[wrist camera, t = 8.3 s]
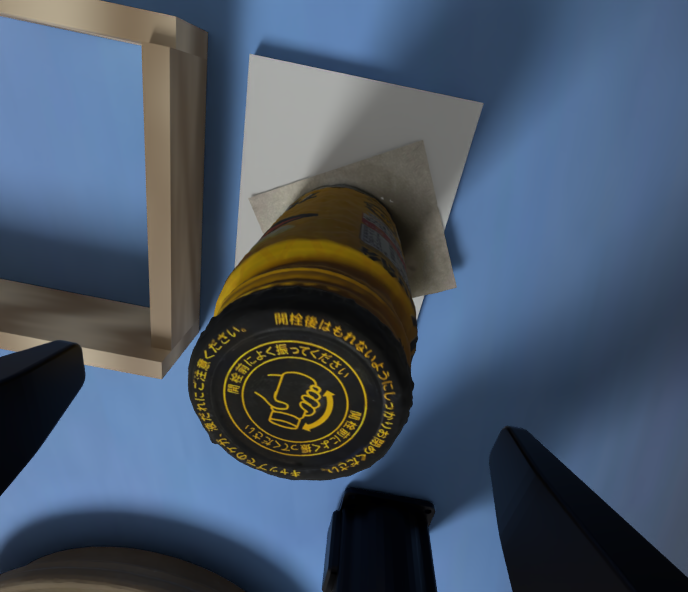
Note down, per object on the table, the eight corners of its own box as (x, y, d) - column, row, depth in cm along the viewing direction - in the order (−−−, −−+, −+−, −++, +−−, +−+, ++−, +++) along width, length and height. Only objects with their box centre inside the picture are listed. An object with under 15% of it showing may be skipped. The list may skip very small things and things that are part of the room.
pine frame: (208, 32, 16) (154, 6, 12) (198, 332, 23) (162, 379, 19) (-175, -49, 16) (-359, -104, 12) (-75, 279, 23) (-173, 315, 18)
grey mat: (479, 103, 17) (483, 103, 16) (400, 363, 23) (401, 369, 22) (253, 55, 17) (249, 53, 16) (233, 331, 23) (229, 336, 22)
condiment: (249, 197, 19) (83, 313, 8) (422, 139, 17) (510, 184, 6) (302, 324, 22) (233, 538, 11) (455, 284, 20) (555, 487, 9)
